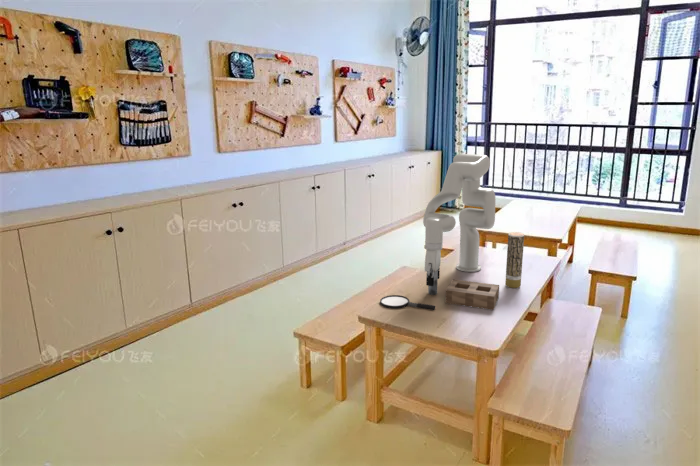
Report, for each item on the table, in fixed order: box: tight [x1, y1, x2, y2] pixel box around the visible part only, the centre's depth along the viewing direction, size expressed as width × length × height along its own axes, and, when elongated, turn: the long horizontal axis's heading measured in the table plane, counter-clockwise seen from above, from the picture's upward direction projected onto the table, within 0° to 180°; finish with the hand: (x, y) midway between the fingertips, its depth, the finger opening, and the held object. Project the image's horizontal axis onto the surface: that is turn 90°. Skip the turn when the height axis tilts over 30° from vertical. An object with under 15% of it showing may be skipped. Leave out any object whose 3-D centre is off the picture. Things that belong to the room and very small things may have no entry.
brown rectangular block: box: [445, 278, 500, 311], centre depth 209 cm, size 14×20×6 cm
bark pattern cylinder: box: [504, 231, 525, 289], centre depth 222 cm, size 7×7×25 cm
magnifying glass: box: [379, 294, 436, 311], centre depth 206 cm, size 12×24×2 cm, turn 63°
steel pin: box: [427, 270, 439, 296], centre depth 217 cm, size 4×4×12 cm
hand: (432, 282), depth 217 cm, fingers open, 9 cm apart
